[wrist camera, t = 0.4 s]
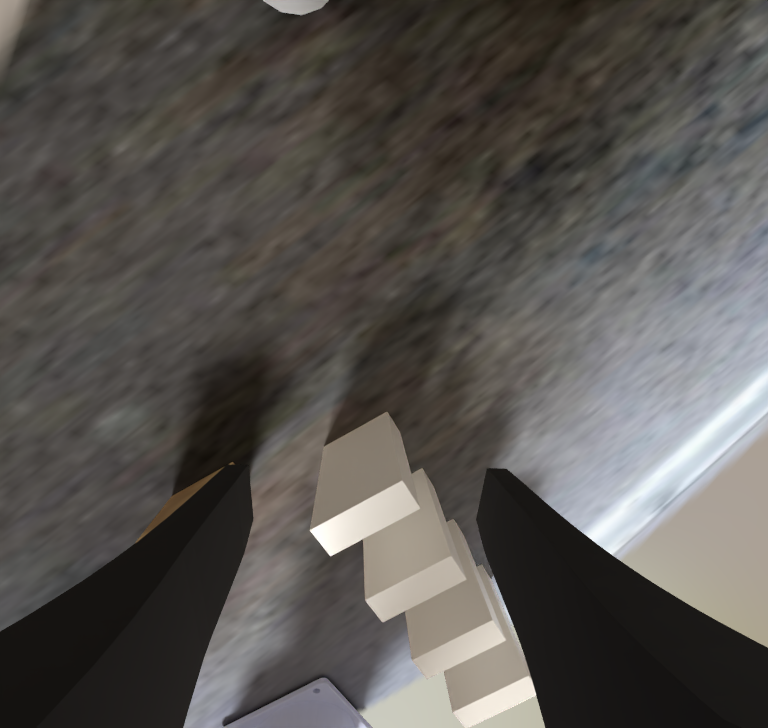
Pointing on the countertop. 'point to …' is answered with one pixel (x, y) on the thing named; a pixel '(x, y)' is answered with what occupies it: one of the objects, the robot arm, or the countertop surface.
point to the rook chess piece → (297, 5)
